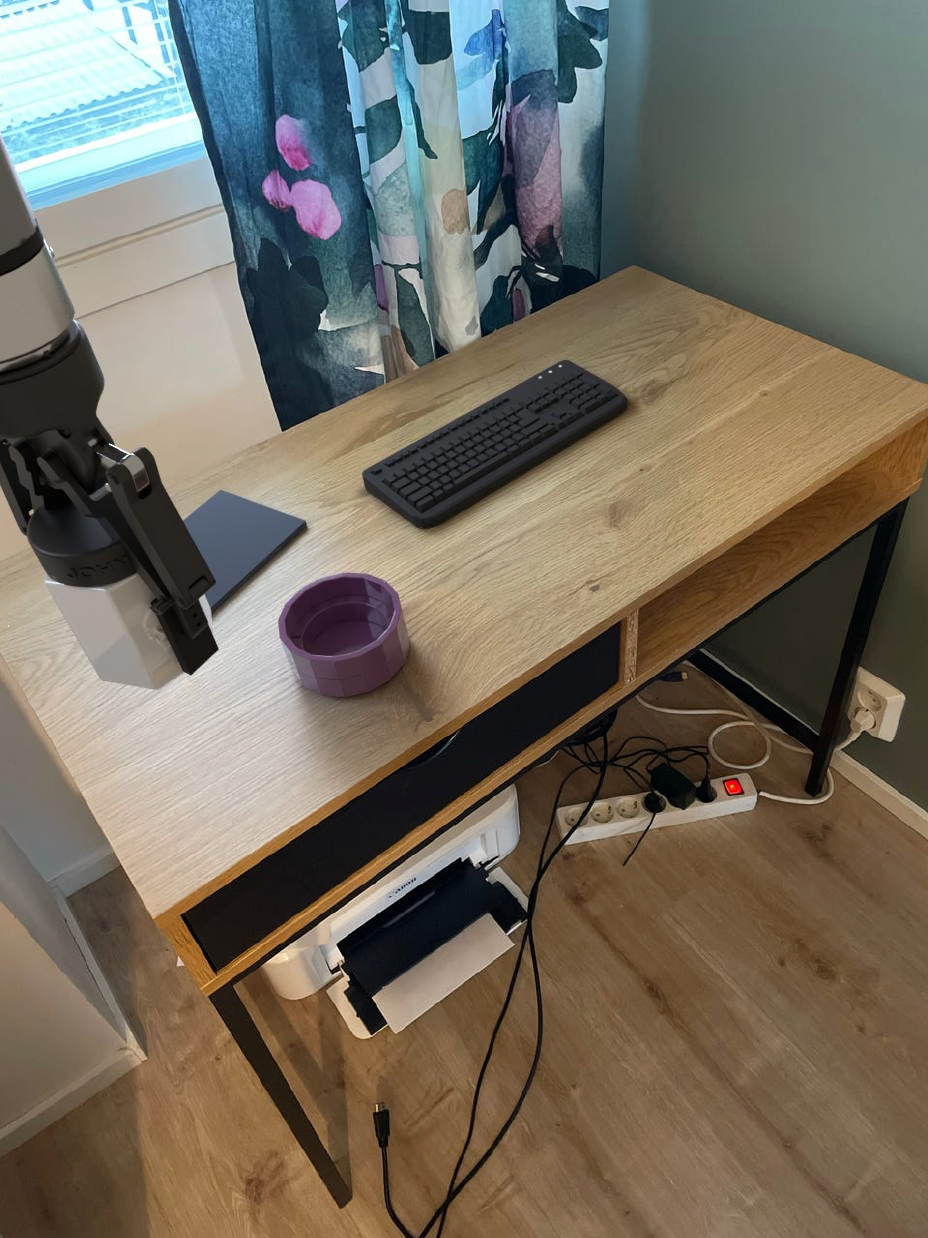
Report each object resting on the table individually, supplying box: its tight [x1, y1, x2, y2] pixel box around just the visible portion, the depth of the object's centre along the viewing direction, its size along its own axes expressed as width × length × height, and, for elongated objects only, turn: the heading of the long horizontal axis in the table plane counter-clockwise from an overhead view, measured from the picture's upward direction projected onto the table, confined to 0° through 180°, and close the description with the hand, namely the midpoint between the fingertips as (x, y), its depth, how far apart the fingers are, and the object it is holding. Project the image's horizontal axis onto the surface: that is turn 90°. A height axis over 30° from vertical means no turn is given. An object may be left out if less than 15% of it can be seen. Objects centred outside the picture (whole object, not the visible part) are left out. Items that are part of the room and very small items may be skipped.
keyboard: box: [361, 359, 629, 530], centre depth 96 cm, size 30×11×2 cm, turn 130°
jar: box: [26, 485, 214, 691], centre depth 59 cm, size 9×8×12 cm
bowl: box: [277, 571, 411, 698], centre depth 76 cm, size 10×10×5 cm
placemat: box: [182, 489, 308, 614], centre depth 89 cm, size 16×12×1 cm
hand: (153, 636), depth 63 cm, fingers closed on jar, 9 cm apart
